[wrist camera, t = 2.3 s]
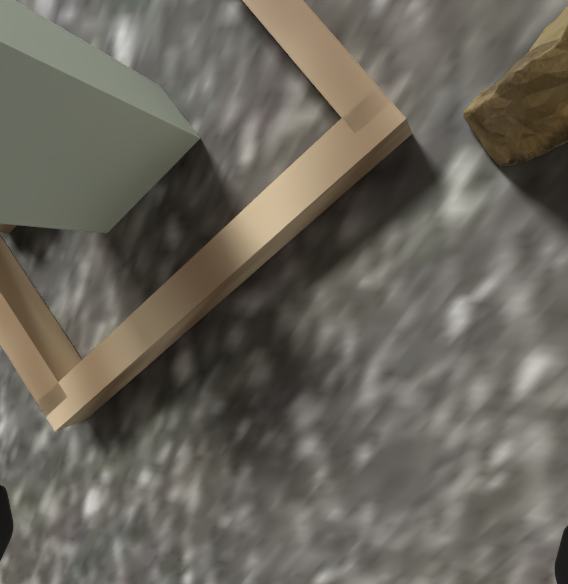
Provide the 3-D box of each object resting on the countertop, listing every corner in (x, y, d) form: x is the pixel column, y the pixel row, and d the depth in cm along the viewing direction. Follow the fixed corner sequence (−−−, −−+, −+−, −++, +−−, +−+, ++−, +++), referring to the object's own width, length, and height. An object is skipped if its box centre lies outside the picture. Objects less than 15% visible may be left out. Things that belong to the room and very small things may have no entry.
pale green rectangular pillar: (107, 233, 23) (-238, 201, 12) (71, 182, 24) (-292, 105, 12) (200, 138, 21) (-99, -6, 10) (159, 85, 22) (-168, -108, 11)
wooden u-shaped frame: (87, 418, 24) (55, 431, 22) (-44, 214, 26) (-84, 210, 24) (412, 133, 19) (406, 118, 17) (215, -94, 21) (190, -130, 19)
